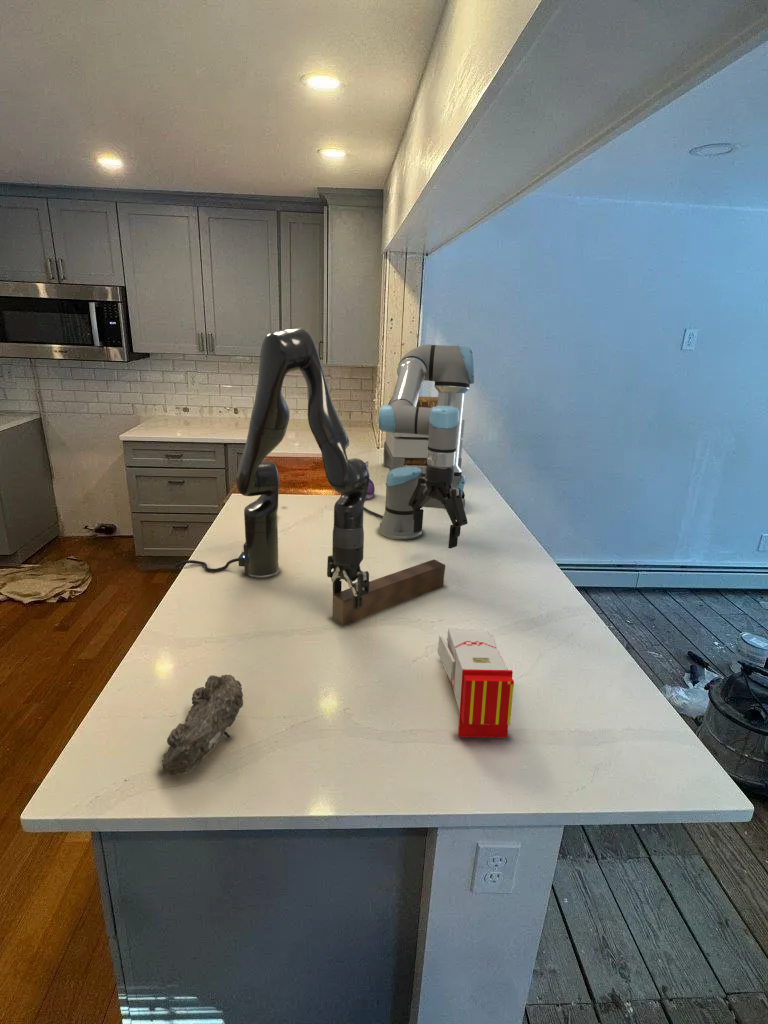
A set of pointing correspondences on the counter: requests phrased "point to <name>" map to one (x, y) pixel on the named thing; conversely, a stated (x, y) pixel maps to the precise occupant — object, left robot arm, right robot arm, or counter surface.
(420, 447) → the transformer
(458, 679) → the toy
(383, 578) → the plank
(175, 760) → the fossil
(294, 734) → the counter surface
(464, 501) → the figurine character
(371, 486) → the figurine
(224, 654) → the counter surface
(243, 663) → the counter surface
